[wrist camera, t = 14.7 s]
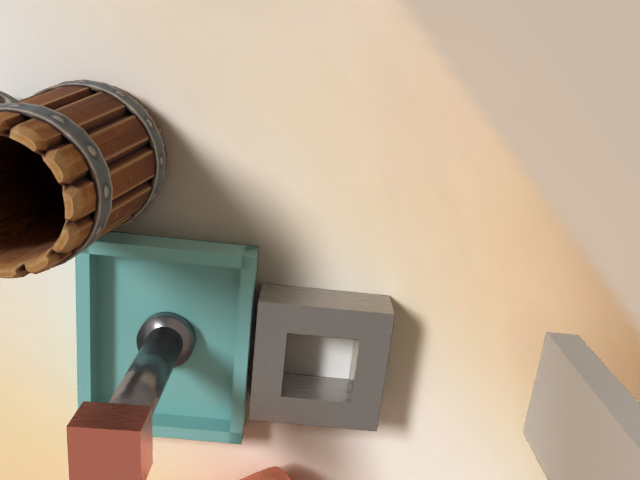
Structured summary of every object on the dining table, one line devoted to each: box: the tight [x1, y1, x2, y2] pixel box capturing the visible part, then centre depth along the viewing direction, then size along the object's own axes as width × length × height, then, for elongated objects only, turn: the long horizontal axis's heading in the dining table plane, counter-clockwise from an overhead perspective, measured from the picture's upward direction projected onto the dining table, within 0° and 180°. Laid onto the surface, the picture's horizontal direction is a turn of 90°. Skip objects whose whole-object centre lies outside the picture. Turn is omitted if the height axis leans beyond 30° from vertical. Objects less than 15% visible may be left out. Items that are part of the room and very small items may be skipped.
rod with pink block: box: [67, 312, 196, 480], centre depth 41 cm, size 4×4×15 cm
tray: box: [75, 232, 259, 444], centre depth 48 cm, size 16×13×2 cm
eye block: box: [249, 283, 395, 431], centre depth 48 cm, size 10×10×4 cm
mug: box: [0, 80, 167, 278], centre depth 37 cm, size 16×11×15 cm
